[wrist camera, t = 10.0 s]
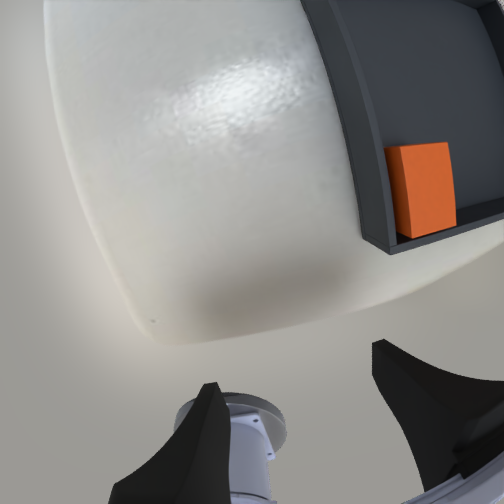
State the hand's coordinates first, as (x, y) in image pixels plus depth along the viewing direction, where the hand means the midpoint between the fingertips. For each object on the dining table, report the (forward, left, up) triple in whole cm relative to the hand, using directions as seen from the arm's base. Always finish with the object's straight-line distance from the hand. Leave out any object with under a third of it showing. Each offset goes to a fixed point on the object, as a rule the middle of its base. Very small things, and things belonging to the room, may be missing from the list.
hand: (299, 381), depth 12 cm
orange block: (+6, -11, -10) cm, 16 cm away
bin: (+14, -19, -10) cm, 26 cm away
